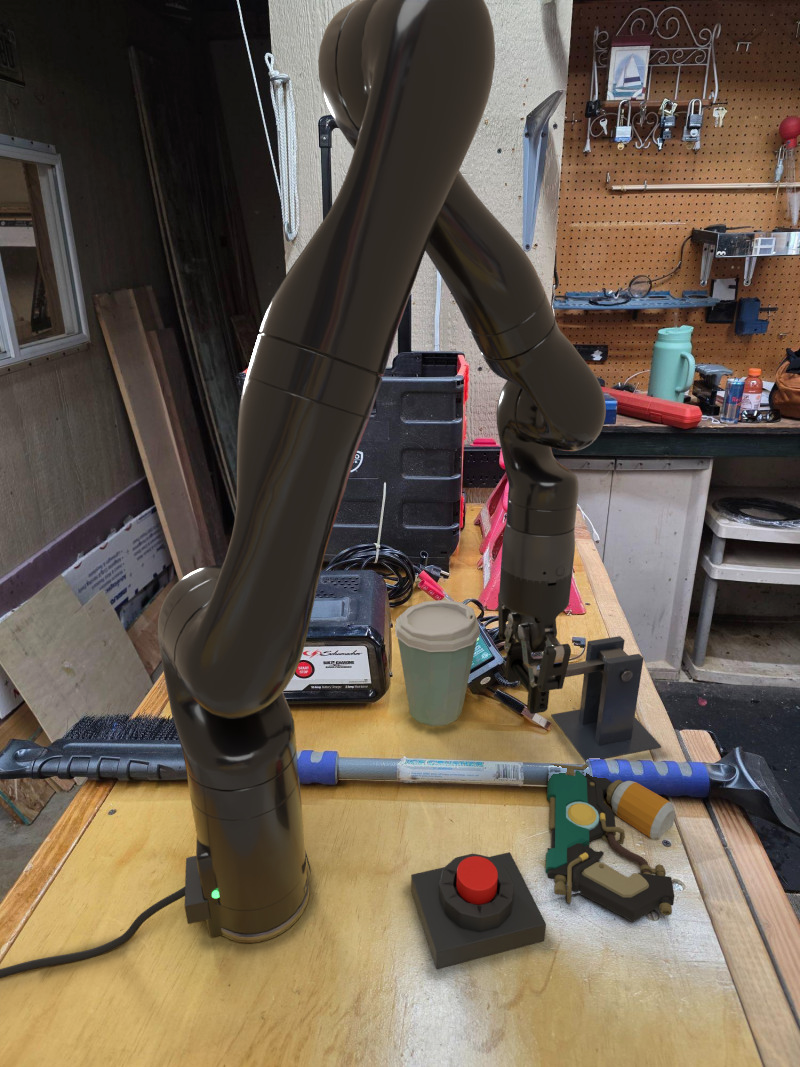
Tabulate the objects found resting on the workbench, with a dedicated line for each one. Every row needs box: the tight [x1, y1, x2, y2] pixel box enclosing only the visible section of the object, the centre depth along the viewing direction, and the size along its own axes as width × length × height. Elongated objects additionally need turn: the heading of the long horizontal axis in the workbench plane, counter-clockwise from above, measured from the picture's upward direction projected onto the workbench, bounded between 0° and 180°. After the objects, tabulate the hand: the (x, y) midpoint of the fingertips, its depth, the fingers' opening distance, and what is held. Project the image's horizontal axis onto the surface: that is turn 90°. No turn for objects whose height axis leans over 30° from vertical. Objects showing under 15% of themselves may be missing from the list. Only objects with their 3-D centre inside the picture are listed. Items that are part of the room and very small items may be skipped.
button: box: [457, 856, 498, 904], centre depth 61 cm, size 4×4×2 cm
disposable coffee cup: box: [394, 599, 481, 727], centre depth 87 cm, size 11×11×15 cm
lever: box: [511, 647, 629, 692], centre depth 80 cm, size 13×6×2 cm, turn 105°
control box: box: [410, 851, 547, 970], centre depth 62 cm, size 10×8×4 cm
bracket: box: [550, 635, 662, 764], centre depth 83 cm, size 10×9×13 cm
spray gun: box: [545, 763, 676, 922], centre depth 69 cm, size 4×17×15 cm
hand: (525, 694), depth 80 cm, fingers closed on lever, 5 cm apart
